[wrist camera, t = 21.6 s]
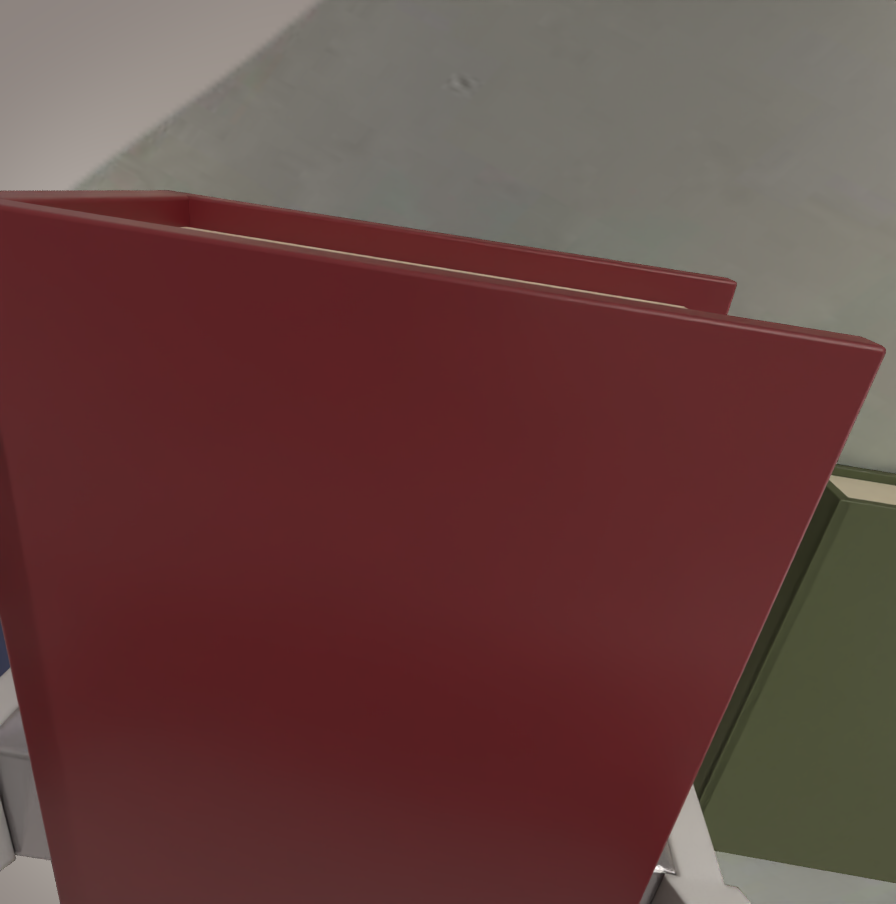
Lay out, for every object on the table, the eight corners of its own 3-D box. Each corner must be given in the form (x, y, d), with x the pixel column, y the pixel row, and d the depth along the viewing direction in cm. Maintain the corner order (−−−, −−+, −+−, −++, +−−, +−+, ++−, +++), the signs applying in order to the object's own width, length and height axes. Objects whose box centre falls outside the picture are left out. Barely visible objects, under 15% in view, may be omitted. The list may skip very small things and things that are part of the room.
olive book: (795, 457, 20) (840, 499, 18) (1157, 515, 20) (1259, 567, 17) (662, 778, 27) (679, 844, 24) (932, 825, 27) (980, 898, 24)
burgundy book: (167, 189, 6) (-94, 188, 4) (729, 278, 6) (891, 346, 3) (202, 907, 12) (104, 1122, 9) (505, 974, 12) (499, 1218, 9)
